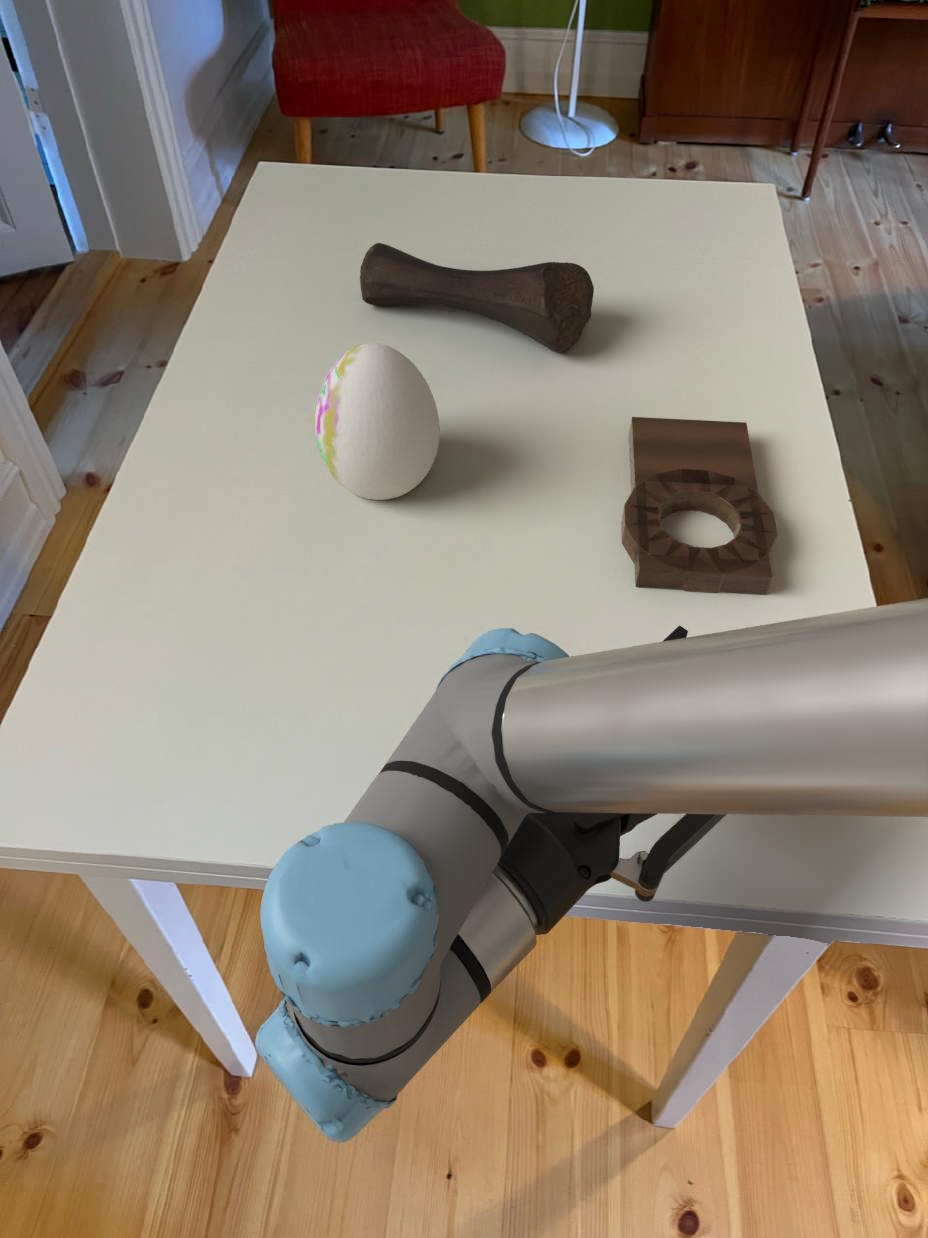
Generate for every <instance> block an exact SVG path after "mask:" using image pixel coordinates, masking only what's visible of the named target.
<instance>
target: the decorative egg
mask: <svg viewBox="0 0 928 1238" xmlns="http://www.w3.org/2000/svg"><path fill="white" fill-rule="evenodd" d="M440 429H441V428H440V418H439V412H438V407H437V403H436V401H435V398H434V395H433V392H432V390H431V388H430V386H429V383H428V382H427V380H426V378H425V377H424V376H423V374H422V373H421V371H420V370H419V369H418V368H417V366H416V365H415V363H413V362H412V361H411V360H410V359H409V358H408V357H407V356H406V355H404V354H403V353H402V352H400V351H399V350H397V349H396V348H394V347H391V346H389V345H386V344H384V343H379V342H367V343H362V344H359V345H356V346H354V347H352V348H350V349H349V350H347V351H346V352H344V353H343V354H341V356H340V357H339V358H338V359H337V360H336V361H335V362H334V363H333V365H332V366H331V368H330V369H329V370H328V372H327V374H326V375H325V378H324V380H323V381H322V383H321V387H320V389H319V392H318V396H317V400H316V406H315V413H314V431H315V440H316V443H317V444H316V445H317V448H318V451H319V454H320V458H321V460H322V462H323V464H324V465H325V467H326V469H327V470H328V472H329V473H330V475H331V476H332V477H333V478H334V480H335V481H336V482H337V483H338V484H339V485H340V486H342V487H343V488H344V489H346V490H347V491H349V492H350V493H352V494H353V495H355V496H357V497H360V498H363V499H367V500H374V501H384V500H391V499H396V498H399V497H402V496H404V495H406V494H407V493H409V492H411V491H412V490H414V489H415V488H416V487H418V486H419V484H421V482H422V481H423V480H424V479H425V478H426V477H427V475H428V473H429V472H430V470H431V468H432V466H433V465H434V462H435V459H436V457H437V454H438V450H439V445H440V433H441V432H440V431H441V430H440Z"/></svg>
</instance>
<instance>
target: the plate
mask: <svg viewBox="0 0 928 1238" xmlns="http://www.w3.org/2000/svg"><path fill="white" fill-rule="evenodd" d="M628 447H629V448H628V449H629V466H630V468H629V469H630V494H629V496H628V498H627V500H626V501H625V503H624V504H623V505H624V506H623V510H622V516H621V521H620V524H621V526H620V527H621V544H622V546H623V548H624V550H625V551H626V553H627V555H628V557H629V558H630V559H631V561H632V563H633V564H634V581H635V582H634V583H635V587H636V588H648V589H650V588H651V589H663V590H666V589H667V590H682V591H685V592H695V593H696V592H697V593H710V594H711V593H714V594H715V593H733V594H747V595H748V594H749V595H765V596H766V595H767V593H768V591H769V588H770V585H771V582H772V580H773V571H772V565H771V558H770V557H771V553H772V550H773V549H774V545H775V542H776V539H777V537H778V529H777V524H776V518H775V513H774V511H773V510H772V508H771V507H770V506H769V505H768V503H767V502H766V501H765V499H764V498H763V497H762V496H761V493H759V488H758V482H757V475H756V470H755V464H754V458H753V453H752V447H751V441H750V435H749V430H748V424H747V422H746V421H745V422H744V421H722V420H703V419H685V418H683V419H682V418H666V417H665V418H664V417H642V416H631V419H630V426H629V431H628ZM682 511H696V512H697V511H700V512H702V513H705V514H709V515H711V516H715V517H716V518H717V519H719V520H720V521H721V522H723V523H725V524H726V525H727V527H728V529H729V530H730V531H731V533H732V534H733V538H732V539H731V540H729V541H728V542H727V543H725V544H722V545H717V546H713V547H705V546H703V547H701V546H693V545H690V544H687V543H684V542H682V541H679V540H678V539H676V538H675V537H674V536H673V535H672V534H670V533H668V531H667V530H666V529H665V526H664V525H663V523H662V520H663V519H664V518H666V517H667V516H669V515H671V514H674V513H678V512H682Z"/></svg>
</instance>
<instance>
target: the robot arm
mask: <svg viewBox="0 0 928 1238" xmlns="http://www.w3.org/2000/svg"><path fill="white" fill-rule="evenodd" d="M688 633H689V630H687V629H686V628H684V627H683V626H682V625H678V626H677V627H676V628H675V629H674V630H673V631H671V633H669V634H668V635H667V636H665V638H664V639H663V640H662V641H657V642H652V643H651V642H650V643H645V644H639V645H633V646H626V647H621V648H614V649H609V650H603V651H597V652H590V653H585V654H579V655H572V656H570V655H569V654H568V653H567V652H566V651H565V650H564V649H562V648H561V647H560V646H558V645H557V644H556V643H555V642H552V641H551V640H549V639H548V638H546V637H544V636H542V635H539V634H537V633H534V632H529V633H526V634H522V633H520V632H519V631H518V630H516V629H515V628H513V627H505V628H495V629H491V630H489V631H486V632H485V633H482V634H481V635H479V636H478V637H477V638H476V639H475V640H474V641H473V642H472V643H471V644H470V645H469V647H468V648H467V649H466V650H465V652H464V653H463V654H462V655H461V657H460V658H459V659H457V661H456V662H454V663H453V664H452V665H451V666H450V667H449V669H448V670H447V672H445V673H443V675H442V676H441V678H440V680H439V682H438V684H437V686H436V688H435V691H434V693H433V694H432V695H431V697H430V699H429V700H428V702H427V703H426V704H425V706H424V708H423V709H422V711H421V712H420V714H419V715H418V716H417V717H416V719H415V720H414V722H413V724H412V725H411V726H410V728H409V729H408V731H406V734H405V735H404V737H403V738H402V739H401V741H400V742H399V743H398V745H397V746H396V748H395V750H394V751H393V752H392V754H391V755H390V756H389V758H388V760H387V761H386V762H385V764H384V765H383V767H382V768H381V769H380V771H379V773H378V774H377V775H376V776H375V777H374V779H373V780H372V782H371V783H370V784H369V786H368V787H367V789H366V790H365V792H364V793H363V794H362V796H361V797H360V799H359V800H358V802H357V803H356V805H354V807H353V808H352V810H351V811H350V813H349V814H348V816H347V817H346V818H345V820H344V821H343V822H337V823H332V824H329V825H326V826H322V828H320V829H318V830H316V831H315V832H312V833H311V834H309V835H307V836H306V837H304V838H302V839H301V840H299V841H297V842H296V843H294V844H292V845H291V846H290V847H289V848H288V849H287V850H286V851H284V853H283V855H282V856H281V857H280V858H279V860H278V861H277V862H276V863H275V865H274V867H273V868H272V870H271V872H270V874H269V876H268V878H267V881H266V883H265V886H264V889H263V893H262V897H261V900H260V901H261V903H260V915H259V917H260V927H261V933H262V934H261V935H262V938H263V942H264V943H263V948H264V951H265V957H266V961H267V965H268V968H269V972H270V974H271V976H272V978H273V981H274V985H275V986H276V988H278V990H279V991H280V992H281V994H282V996H283V999H282V1000H281V1001H280V1002H279V1004H278V1007H277V1008H276V1009H275V1010H274V1011H273V1013H271V1015H270V1016H269V1017H268V1018H267V1019H266V1020H265V1021H264V1022H263V1023H262V1025H260V1027H259V1029H258V1031H257V1033H256V1035H255V1041H254V1045H255V1048H256V1051H257V1054H258V1055H259V1056H260V1058H261V1059H262V1061H263V1062H264V1063H265V1065H266V1066H267V1068H268V1069H269V1071H271V1074H273V1075H274V1077H275V1078H276V1080H277V1081H278V1082H279V1083H280V1084H281V1086H282V1087H283V1088H284V1089H285V1091H286V1092H287V1093H288V1094H289V1096H290V1097H291V1098H292V1100H293V1101H294V1102H295V1103H296V1105H297V1106H298V1107H299V1108H300V1109H301V1110H302V1112H303V1113H304V1114H305V1115H306V1117H307V1118H309V1120H310V1121H311V1123H312V1124H313V1125H314V1126H315V1127H316V1128H317V1129H318V1131H320V1133H322V1135H323V1136H324V1137H325V1138H327V1139H328V1140H329V1141H332V1142H334V1143H339V1144H340V1143H346V1142H349V1141H351V1140H352V1139H354V1138H355V1137H356V1136H357V1135H359V1133H361V1131H362V1130H364V1128H366V1127H367V1126H368V1125H369V1124H370V1123H371V1122H372V1121H373V1120H374V1119H375V1118H376V1117H377V1116H378V1115H379V1114H381V1113H382V1112H383V1111H384V1110H385V1109H389V1108H391V1107H392V1105H394V1104H395V1102H396V1101H397V1100H398V1095H399V1094H400V1093H401V1092H402V1091H403V1089H404V1088H405V1087H406V1086H407V1085H408V1084H409V1083H410V1081H412V1079H414V1077H415V1076H416V1075H417V1074H418V1073H419V1072H420V1071H421V1069H422V1068H423V1067H424V1066H425V1065H426V1064H427V1063H428V1062H429V1061H430V1060H431V1058H433V1057H434V1055H435V1054H436V1053H437V1052H438V1051H440V1049H441V1047H443V1046H444V1045H445V1043H446V1042H447V1041H448V1040H449V1039H450V1038H452V1036H453V1035H454V1033H455V1032H456V1031H457V1030H458V1029H459V1028H460V1027H461V1026H463V1024H464V1023H465V1022H466V1021H467V1020H468V1019H469V1017H470V1016H471V1015H472V1014H473V1013H474V1012H475V1011H476V1010H477V1009H478V1008H479V1006H480V1005H481V1004H482V1003H483V1002H484V1001H485V1000H486V999H487V998H488V997H489V996H490V994H492V992H493V991H495V989H496V988H497V987H499V985H500V984H501V983H502V982H503V981H505V979H506V978H507V977H508V976H509V975H510V973H512V972H513V970H514V969H515V968H517V967H518V965H519V964H520V963H522V962H523V960H524V959H525V958H526V957H527V956H528V955H529V954H530V953H531V952H532V951H533V950H534V948H536V945H537V943H538V942H537V936H542V935H547V934H549V933H550V931H552V930H553V929H554V927H555V926H556V925H557V924H558V923H559V922H560V921H561V920H562V919H563V918H564V916H566V915H567V914H568V912H570V910H571V909H572V908H573V907H574V906H575V905H576V904H577V903H578V902H579V901H580V900H581V898H582V897H583V896H585V894H586V893H587V892H589V890H590V889H591V888H593V887H594V886H596V885H598V884H602V883H605V882H608V881H610V880H611V879H613V880H615V881H617V882H619V883H622V884H623V885H626V886H628V887H630V888H632V889H633V890H634V894H635V897H636V898H637V900H639V901H641V902H645V903H646V902H650V901H652V900H653V899H654V898H655V897H656V894H657V892H658V889H659V887H660V884H661V882H662V880H663V878H664V876H665V874H666V873H667V872H668V871H669V870H670V869H671V868H672V867H673V866H674V865H676V863H678V861H680V860H681V858H682V857H684V856H685V855H686V854H687V853H688V852H689V851H690V850H691V849H692V848H693V847H694V846H695V845H697V843H699V842H700V841H701V840H702V839H703V838H704V837H705V836H706V835H707V834H708V833H709V832H711V830H712V829H714V827H715V826H717V824H719V823H720V822H721V821H722V820H723V819H724V818H725V817H726V816H727V815H731V816H732V815H734V816H735V815H738V816H739V815H740V816H743V815H747V816H749V815H751V816H813V817H814V816H816V817H817V816H819V817H820V816H823V817H824V816H825V817H890V818H891V817H892V818H893V817H895V818H897V817H898V818H902V817H903V818H928V597H925V598H920V599H912V600H908V601H901V602H895V603H889V604H883V605H877V606H870V607H865V608H858V609H851V610H846V611H841V612H834V613H829V614H822V615H816V616H810V617H804V618H799V619H791V620H785V621H779V622H772V623H768V624H761V625H760V624H759V625H755V626H749V627H742V628H736V629H731V630H723V631H719V632H718V631H717V632H713V633H706V634H700V635H699V634H698V635H694V636H688ZM659 814H660V815H662V814H663V815H664V814H665V815H667V814H668V815H669V814H670V815H683V816H682V817H681V818H680V819H679V820H677V822H675V823H674V824H673V825H672V826H671V827H670V828H669V829H668V830H667V831H666V832H664V833H663V834H662V835H661V836H660V837H659V838H658V840H656V842H655V843H654V844H653V846H652V847H651V848H650V850H649V852H648V851H646V850H642V851H640V850H639V851H637V852H635V853H634V854H633V855H632V856H631V857H629V858H622V857H620V853H621V852H620V851H621V850H620V849H621V836H624V835H626V834H628V833H630V832H632V831H633V830H634V829H635V828H636V827H637V826H638V825H639V824H641V823H643V822H645V821H647V820H649V819H651V818H653V817H655V816H657V815H659Z"/></svg>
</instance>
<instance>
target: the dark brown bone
mask: <svg viewBox="0 0 928 1238" xmlns="http://www.w3.org/2000/svg"><path fill="white" fill-rule="evenodd" d="M359 272H360V274H359V283H360V292H361V298H362V301H363V302H364V303H366V304H368V305H370V306H374V307H376V306H377V307H386V306H387V307H388V306H395V305H396V306H398V305H399V306H400V305H429V306H437V307H438V306H439V307H445V308H450V309H456V310H461V311H466V312H470V313H474V314H477V315H480V316H483V317H485V318H489V319H491V320H494V321H497V322H499V323H502V324H503V325H505V326H507V327H510V328H512V329H514V330H516V331H518V332H519V333H522V334H524V335H525V336H527V337H529V338H531V339H533V340H534V341H535V342H537V343H539V344H541V345H542V346H544V347H546V348H547V349H549V350H550V351H552V352H554V353H563V352H566V351H568V349H570V348H571V347H573V345H575V344H576V342H577V341H578V340H579V339H580V338H581V336H582V333H583V331H584V329H585V327H586V326H587V324H588V323H589V322H590V319H591V317H592V307H593V301H594V293H595V288H594V284H593V281H592V277H591V276H590V274H589V272H588V270H586V269H585V267H583V266H581V265H580V264H578V263H573V262H566V261H565V262H558V261H547V262H541V263H537V264H531V265H525V266H519V267H512V268H503V269H492V270H476V269H475V270H472V269H471V270H470V269H460V268H454V267H448V266H442V265H438V264H435V263H432V262H429V261H426V260H424V259H421V258H419V257H416V256H414V255H412V254H409V253H407V252H405V251H402V250H401V249H398V248H396V247H394V246H391V245H389V244H386V243H383V242H382V243H381V242H375V243H374V244H372V245H371V246H370V247H369V248H368V249H367V251H366V252H365V254H364V257H363V259H362V263H361V265H360V270H359Z"/></svg>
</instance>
